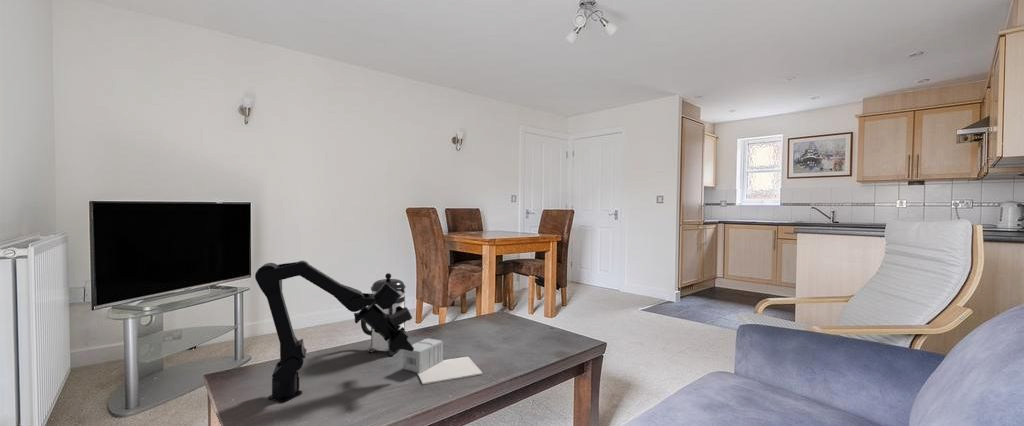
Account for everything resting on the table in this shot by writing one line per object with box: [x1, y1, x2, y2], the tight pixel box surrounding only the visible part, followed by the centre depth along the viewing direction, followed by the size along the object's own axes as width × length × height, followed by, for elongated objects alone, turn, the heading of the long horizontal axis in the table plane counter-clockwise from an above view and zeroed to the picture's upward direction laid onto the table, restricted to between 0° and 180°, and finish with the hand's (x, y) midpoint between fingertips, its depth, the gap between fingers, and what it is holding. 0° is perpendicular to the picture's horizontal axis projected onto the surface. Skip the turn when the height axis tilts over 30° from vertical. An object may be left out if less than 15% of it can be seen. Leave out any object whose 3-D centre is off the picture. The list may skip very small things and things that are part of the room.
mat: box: [416, 356, 484, 385], centre depth 138 cm, size 20×16×1 cm
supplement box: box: [402, 337, 444, 374], centre depth 141 cm, size 7×7×13 cm
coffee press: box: [360, 272, 407, 357], centre depth 156 cm, size 17×16×30 cm
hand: (412, 349), depth 133 cm, fingers closed
